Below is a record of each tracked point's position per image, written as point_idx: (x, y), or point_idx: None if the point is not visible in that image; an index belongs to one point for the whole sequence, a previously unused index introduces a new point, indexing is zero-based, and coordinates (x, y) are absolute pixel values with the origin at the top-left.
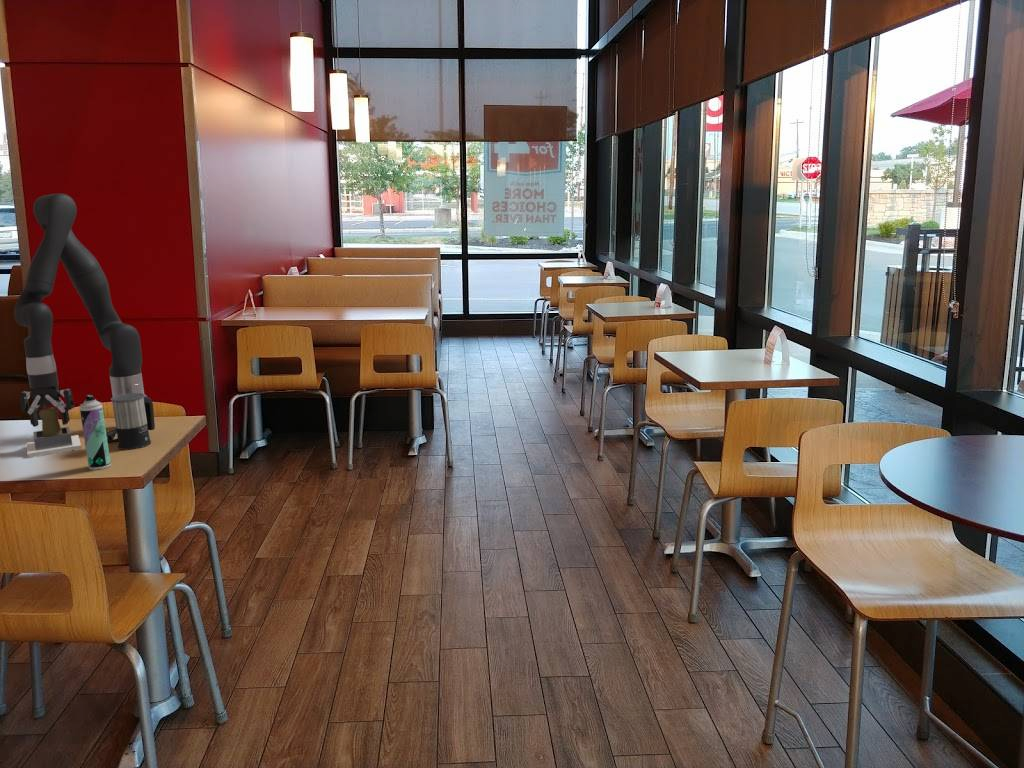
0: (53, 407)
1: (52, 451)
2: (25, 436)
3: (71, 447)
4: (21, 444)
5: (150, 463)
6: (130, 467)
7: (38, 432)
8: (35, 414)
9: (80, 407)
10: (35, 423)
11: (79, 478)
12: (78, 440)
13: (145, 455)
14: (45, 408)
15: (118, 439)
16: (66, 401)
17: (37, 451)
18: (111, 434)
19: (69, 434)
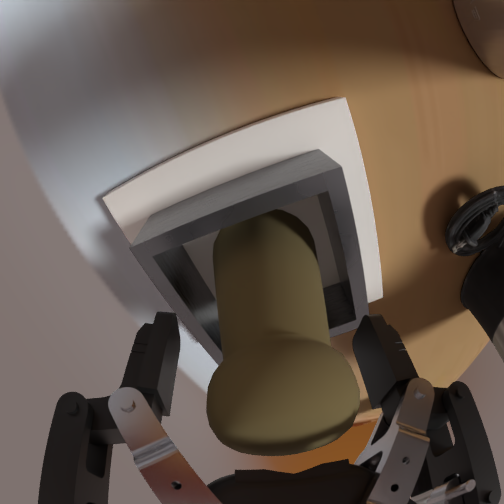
0: (330, 433)
1: None
2: (32, 21)
3: None
4: (63, 145)
5: (461, 371)
6: (436, 386)
7: (163, 250)
8: (163, 394)
9: (413, 500)
10: (177, 354)
11: (366, 420)
12: (369, 221)
13: (474, 341)
14: (268, 453)
15: (475, 313)
16: (433, 462)
17: None
18: (480, 235)
19: None
